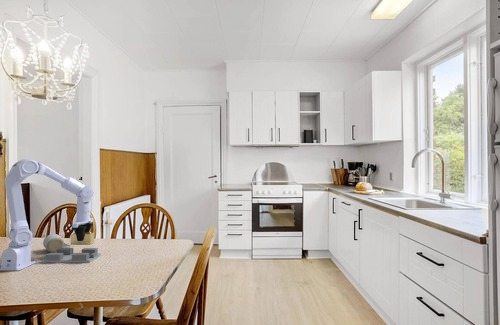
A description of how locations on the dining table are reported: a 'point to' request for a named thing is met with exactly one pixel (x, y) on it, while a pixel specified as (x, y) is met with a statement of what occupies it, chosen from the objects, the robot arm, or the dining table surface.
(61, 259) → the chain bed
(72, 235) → the link
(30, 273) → the dining table surface
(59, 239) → the ceramic mug
